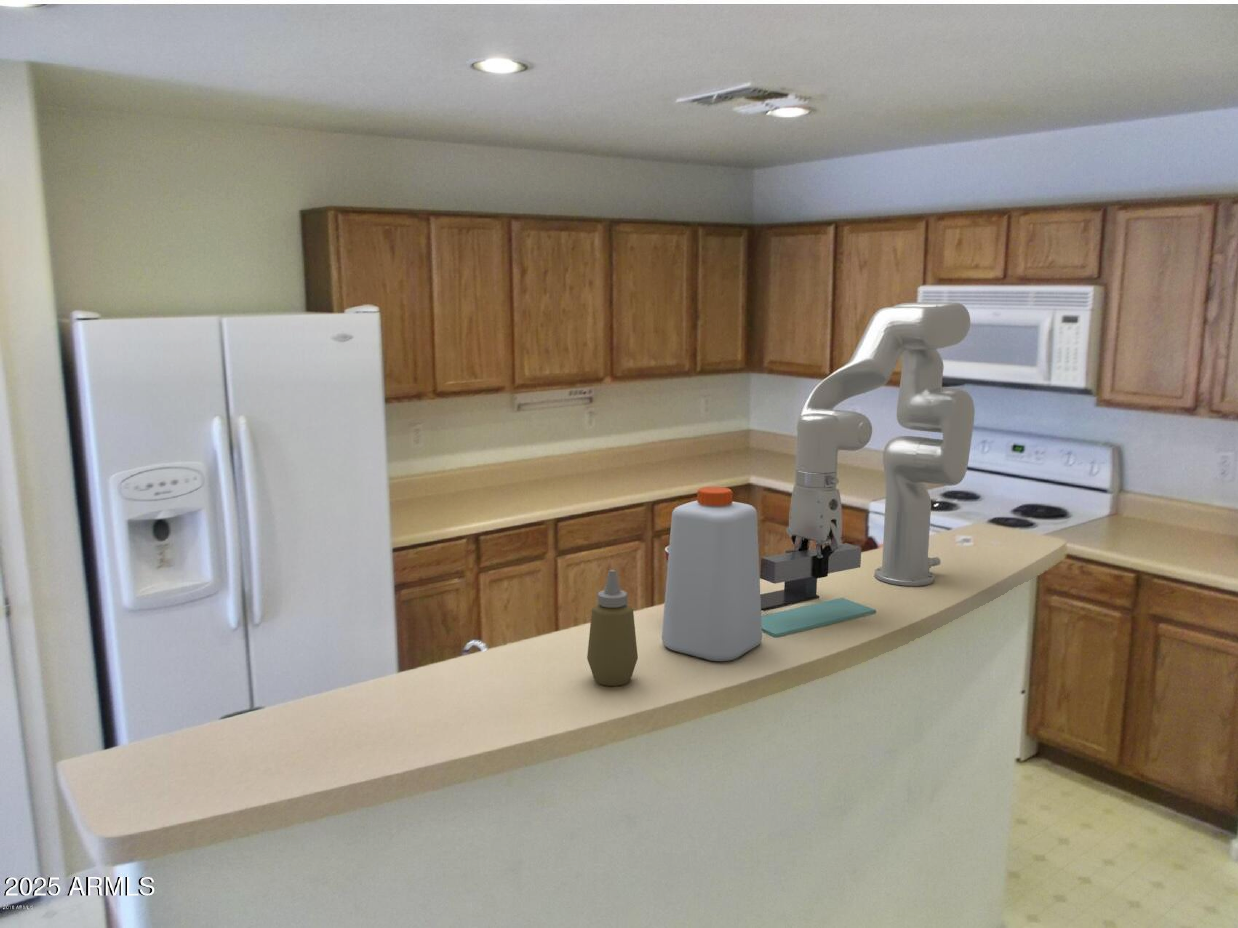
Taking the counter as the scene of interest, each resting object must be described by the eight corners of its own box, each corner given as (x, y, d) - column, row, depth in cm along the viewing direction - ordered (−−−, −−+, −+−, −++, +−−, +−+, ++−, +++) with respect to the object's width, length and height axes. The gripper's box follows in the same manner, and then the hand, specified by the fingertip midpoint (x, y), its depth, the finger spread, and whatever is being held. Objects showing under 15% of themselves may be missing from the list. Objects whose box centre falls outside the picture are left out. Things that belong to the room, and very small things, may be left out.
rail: (845, 562, 179) (846, 543, 178) (860, 567, 176) (861, 547, 175) (760, 578, 167) (761, 557, 167) (774, 583, 164) (775, 562, 163)
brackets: (795, 589, 191) (797, 548, 189) (819, 598, 185) (820, 555, 184) (721, 605, 181) (722, 561, 179) (743, 614, 175) (744, 570, 173)
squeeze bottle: (579, 674, 146) (579, 567, 143) (625, 666, 149) (625, 561, 146) (598, 693, 138) (598, 580, 135) (646, 685, 142) (646, 574, 139)
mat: (842, 600, 184) (842, 597, 184) (875, 612, 176) (875, 609, 176) (742, 622, 170) (743, 619, 170) (774, 637, 163) (775, 634, 163)
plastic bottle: (727, 668, 148) (731, 502, 144) (652, 647, 157) (653, 490, 153) (770, 641, 160) (775, 487, 156) (698, 624, 169) (700, 478, 165)
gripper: (863, 485, 164) (858, 582, 167) (799, 471, 178) (796, 561, 181) (833, 488, 160) (829, 588, 163) (770, 474, 174) (767, 566, 177)
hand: (811, 573), depth 172 cm, fingers closed on rail, 4 cm apart
